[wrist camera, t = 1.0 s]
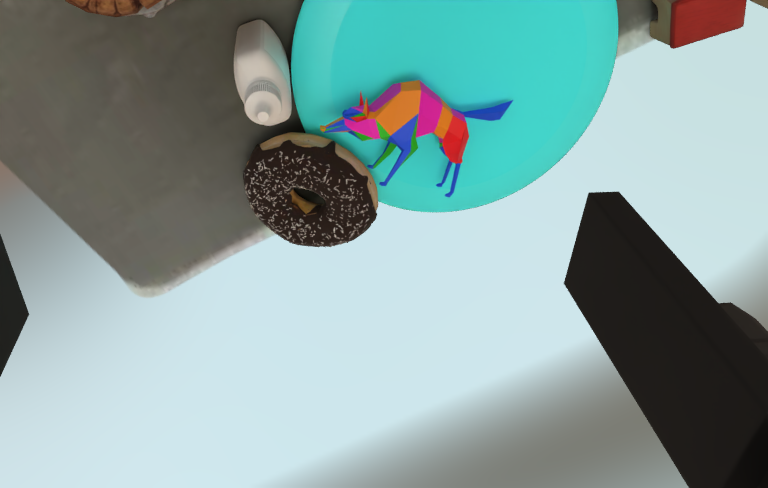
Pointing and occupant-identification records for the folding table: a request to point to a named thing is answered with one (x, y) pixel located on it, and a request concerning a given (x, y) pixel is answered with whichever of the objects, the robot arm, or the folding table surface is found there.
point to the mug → (121, 7)
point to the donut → (315, 173)
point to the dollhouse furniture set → (696, 19)
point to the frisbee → (459, 84)
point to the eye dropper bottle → (262, 74)
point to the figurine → (412, 124)
